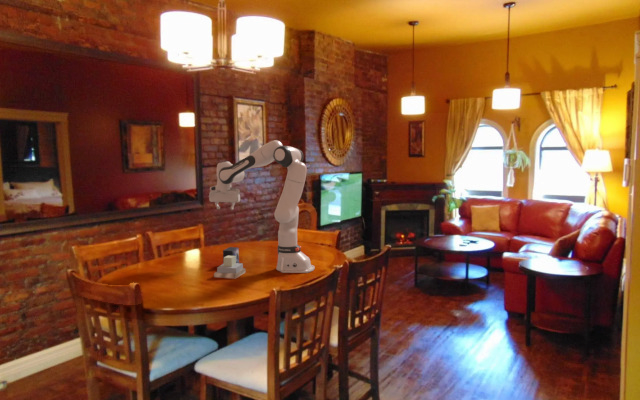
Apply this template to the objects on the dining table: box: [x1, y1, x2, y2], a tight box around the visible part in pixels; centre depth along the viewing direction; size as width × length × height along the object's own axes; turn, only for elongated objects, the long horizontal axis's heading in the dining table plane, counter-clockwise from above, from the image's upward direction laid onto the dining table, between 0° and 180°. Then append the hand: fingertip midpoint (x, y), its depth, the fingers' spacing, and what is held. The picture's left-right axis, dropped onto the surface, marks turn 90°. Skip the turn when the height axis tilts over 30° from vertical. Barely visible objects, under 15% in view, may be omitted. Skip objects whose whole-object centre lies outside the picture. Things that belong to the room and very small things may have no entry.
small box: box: [222, 246, 240, 264], centre depth 279 cm, size 11×6×10 cm, turn 168°
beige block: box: [222, 255, 236, 267], centre depth 258 cm, size 5×5×5 cm
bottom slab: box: [213, 267, 246, 279], centre depth 259 cm, size 13×13×3 cm
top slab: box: [216, 262, 244, 274], centre depth 258 cm, size 11×11×3 cm
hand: (225, 209), depth 288 cm, fingers open, 8 cm apart
